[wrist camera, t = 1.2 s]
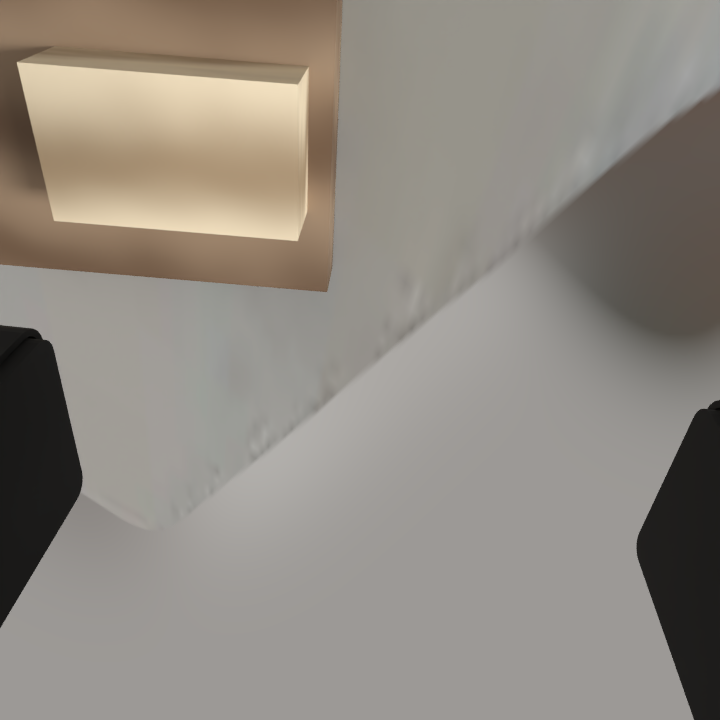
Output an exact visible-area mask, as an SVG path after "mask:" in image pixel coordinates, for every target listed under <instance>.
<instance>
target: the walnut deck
mask: <svg viewBox="0 0 720 720" xmlns="http://www.w3.org/2000/svg"><path fill="white" fill-rule="evenodd" d="M341 24H342V0H0V264H2V265H13V266H25V267H37V268H49V269H61V270H73V271H85V272H96V273H108V274H120V275H132V276H144V277H156V278H168V279H179V280H191V281H203V282H215V283H227V284H239V285H251V286H262V287H274V288H286V289H298V290H310V291H322V292H327V290H328V285H329V280H330V275H331V271H332V258H333V232H334V206H335V180H336V154H337V128H338V102H339V76H340V50H341ZM54 46H58V47H71V48H84V49H97V50H109V51H122V52H135V53H147V54H160V55H173V56H186V57H198V58H211V59H224V60H236V61H249V62H262V63H275V64H287V65H300V66H309V108H308V190H307V214H306V217H305V220H304V223H303V226H302V229H301V232H300V235H299V238H298V241H290V240H278V239H266V238H254V237H242V236H230V235H218V234H206V233H194V232H182V231H170V230H158V229H146V228H134V227H122V226H110V225H98V224H86V223H74V222H61V221H54V219H53V214H52V210H51V206H50V202H49V197H48V193H47V189H46V185H45V180H44V176H43V172H42V168H41V163H40V159H39V155H38V151H37V146H36V142H35V138H34V134H33V130H32V125H31V121H30V117H29V113H28V108H27V104H26V100H25V96H24V91H23V87H22V83H21V79H20V74H19V70H18V66H17V62H19V61H21V60H23V59H26V58H28V57H30V56H33V55H35V54H37V53H40V52H42V51H45V50H47V49H49V48H52V47H54Z"/></svg>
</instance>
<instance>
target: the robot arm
mask: <svg viewBox="0 0 720 720" xmlns="http://www.w3.org/2000/svg"><path fill="white" fill-rule="evenodd" d="M82 478H83V477H82V470H81V466H80V462H79V457H78V453H77V449H76V444H75V440H74V436H73V431H72V427H71V423H70V418H69V414H68V410H67V405H66V401H65V397H64V392H63V388H62V384H61V379H60V375H59V371H58V366H57V362H56V358H55V353H54V349H53V346H52V344H51V343H50V342H49V341H47V340H43V339H42V337H41V335H40V333H39V332H38V331H37V330H35V329H31V328H21V327H12V326H2V325H0V627H1V626H2V624H3V622H4V621H5V619H6V617H7V615H8V614H9V612H10V611H11V609H12V607H13V606H14V604H15V602H16V600H17V599H18V597H19V595H20V594H21V592H22V590H23V589H24V587H25V586H26V584H27V582H28V580H29V579H30V577H31V575H32V574H33V572H34V570H35V569H36V567H37V565H38V564H39V562H40V560H41V558H42V557H43V555H44V554H45V552H46V550H47V549H48V547H49V545H50V544H51V542H52V540H53V539H54V537H55V535H56V534H57V532H58V530H59V528H60V527H61V525H62V524H63V522H64V520H65V519H66V517H67V515H68V514H69V512H70V510H71V508H72V507H73V505H74V503H75V502H76V500H77V498H78V496H79V494H80V491H81V487H82ZM637 556H638V560H639V563H640V566H641V569H642V571H643V575H644V578H645V580H646V583H647V586H648V589H649V592H650V595H651V597H652V600H653V603H654V606H655V609H656V612H657V614H658V617H659V620H660V623H661V626H662V629H663V632H664V634H665V638H666V640H667V643H668V646H669V649H670V652H671V655H672V658H673V661H674V663H675V666H676V669H677V672H678V674H679V677H680V681H681V683H682V686H683V689H684V692H685V695H686V698H687V701H688V703H689V706H690V709H691V712H692V715H693V718H694V720H720V400H719V401H715V402H713V403H712V404H711V405H710V406H709V407H708V409H700V410H699V411H698V412H697V413H696V414H695V416H694V418H693V420H692V422H691V424H690V426H689V428H688V431H687V433H686V435H685V437H684V439H683V441H682V444H681V446H680V448H679V450H678V452H677V454H676V456H675V458H674V460H673V462H672V465H671V467H670V469H669V471H668V473H667V475H666V477H665V479H664V482H663V484H662V486H661V488H660V490H659V492H658V494H657V496H656V499H655V501H654V503H653V505H652V507H651V509H650V511H649V513H648V516H647V518H646V520H645V522H644V524H643V526H642V529H641V531H640V533H639V535H638V539H637Z"/></svg>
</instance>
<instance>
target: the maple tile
mask: <svg viewBox="0 0 720 720" xmlns="http://www.w3.org/2000/svg"><path fill="white" fill-rule="evenodd" d="M17 66H18V70H19V74H20V79H21V83H22V87H23V91H24V96H25V100H26V104H27V108H28V113H29V117H30V121H31V125H32V130H33V134H34V138H35V142H36V146H37V151H38V155H39V159H40V163H41V168H42V172H43V176H44V180H45V185H46V189H47V193H48V197H49V202H50V206H51V210H52V214H53V219H54V221H61V222H74V223H86V224H98V225H110V226H122V227H134V228H146V229H158V230H170V231H182V232H194V233H206V234H218V235H230V236H242V237H254V238H266V239H278V240H290V241H298V238H299V235H300V232H301V229H302V226H303V223H304V220H305V217H306V214H307V190H308V108H309V66H300V65H287V64H275V63H262V62H249V61H236V60H224V59H211V58H198V57H186V56H173V55H160V54H147V53H135V52H122V51H109V50H97V49H84V48H71V47H58V46H54V47H52V48H49V49H47V50H45V51H42V52H40V53H37V54H35V55H33V56H30V57H28V58H26V59H23V60H21V61H19V62H17Z"/></svg>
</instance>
